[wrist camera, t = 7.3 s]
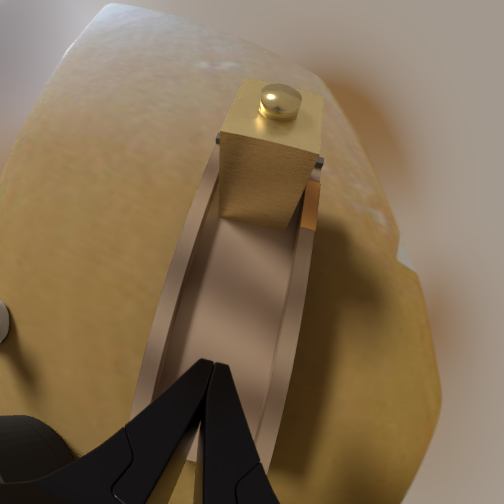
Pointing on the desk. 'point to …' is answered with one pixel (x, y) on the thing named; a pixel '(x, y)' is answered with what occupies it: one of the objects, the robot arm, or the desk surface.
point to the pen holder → (29, 449)
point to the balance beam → (233, 306)
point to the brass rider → (268, 152)
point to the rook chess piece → (3, 321)
